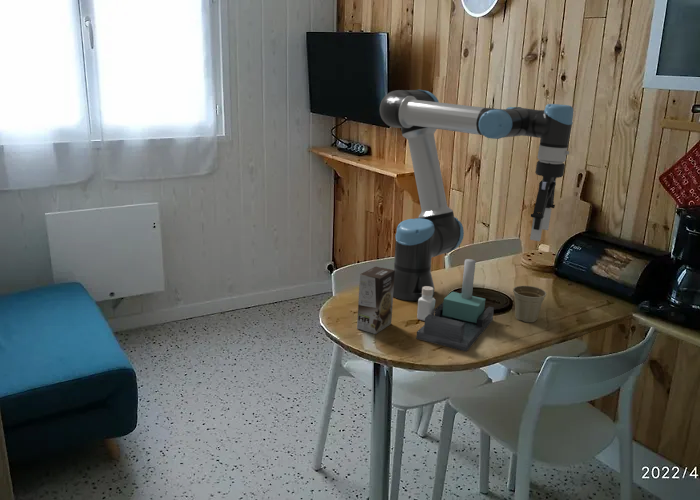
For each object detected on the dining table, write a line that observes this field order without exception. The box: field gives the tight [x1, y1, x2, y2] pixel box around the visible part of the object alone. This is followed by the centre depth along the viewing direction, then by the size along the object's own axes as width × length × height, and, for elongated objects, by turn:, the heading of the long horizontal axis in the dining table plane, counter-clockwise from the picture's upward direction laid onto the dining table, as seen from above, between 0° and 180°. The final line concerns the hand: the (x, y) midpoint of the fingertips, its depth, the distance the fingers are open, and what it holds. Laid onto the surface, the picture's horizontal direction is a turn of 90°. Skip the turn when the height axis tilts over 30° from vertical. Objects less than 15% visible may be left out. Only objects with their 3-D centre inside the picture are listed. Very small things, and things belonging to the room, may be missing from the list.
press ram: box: [442, 258, 486, 323], centre depth 172 cm, size 10×7×16 cm
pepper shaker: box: [416, 286, 436, 322], centre depth 175 cm, size 4×4×10 cm
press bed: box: [415, 302, 495, 353], centre depth 169 cm, size 14×24×6 cm, turn 151°
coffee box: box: [356, 266, 395, 335], centre depth 168 cm, size 9×6×16 cm
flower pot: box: [512, 285, 547, 323], centre depth 178 cm, size 9×9×9 cm
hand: (539, 234), depth 176 cm, fingers open, 13 cm apart
